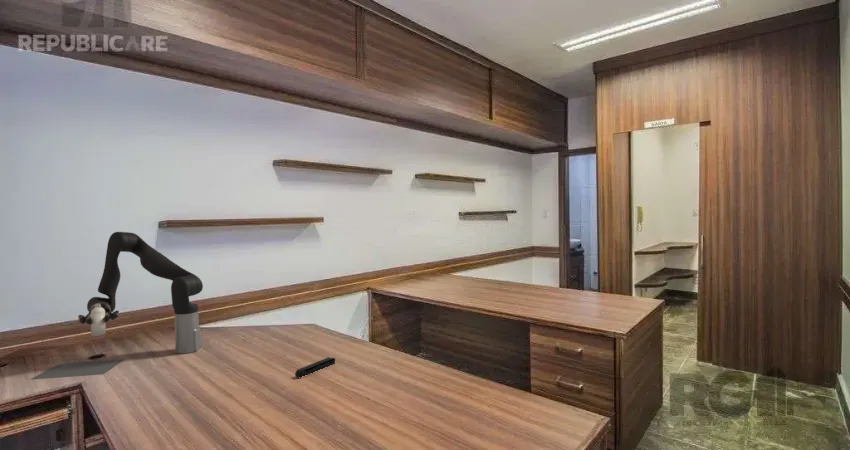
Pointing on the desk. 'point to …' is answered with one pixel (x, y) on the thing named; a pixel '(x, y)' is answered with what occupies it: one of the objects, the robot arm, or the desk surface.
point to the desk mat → (79, 369)
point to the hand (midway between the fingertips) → (97, 321)
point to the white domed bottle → (98, 321)
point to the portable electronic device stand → (315, 367)
